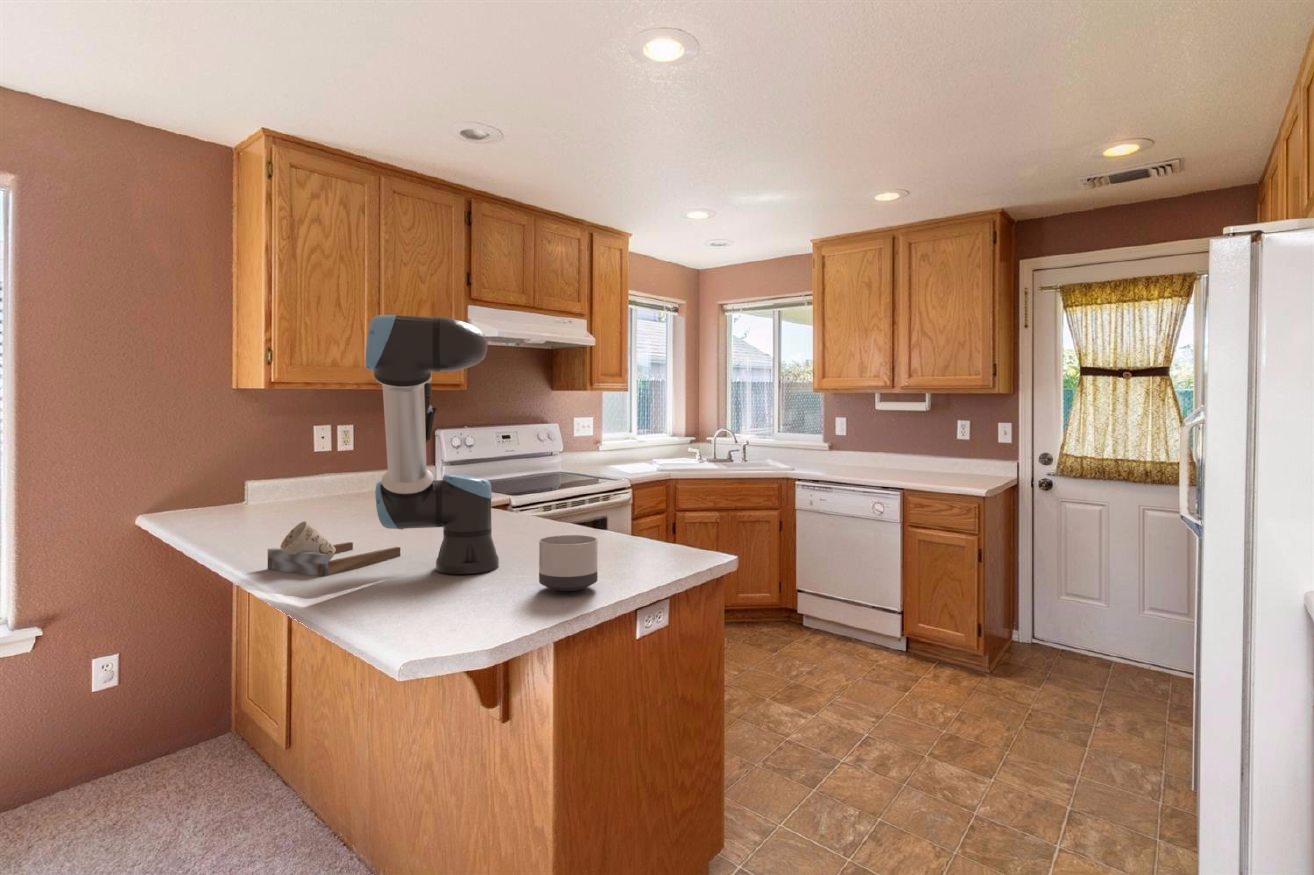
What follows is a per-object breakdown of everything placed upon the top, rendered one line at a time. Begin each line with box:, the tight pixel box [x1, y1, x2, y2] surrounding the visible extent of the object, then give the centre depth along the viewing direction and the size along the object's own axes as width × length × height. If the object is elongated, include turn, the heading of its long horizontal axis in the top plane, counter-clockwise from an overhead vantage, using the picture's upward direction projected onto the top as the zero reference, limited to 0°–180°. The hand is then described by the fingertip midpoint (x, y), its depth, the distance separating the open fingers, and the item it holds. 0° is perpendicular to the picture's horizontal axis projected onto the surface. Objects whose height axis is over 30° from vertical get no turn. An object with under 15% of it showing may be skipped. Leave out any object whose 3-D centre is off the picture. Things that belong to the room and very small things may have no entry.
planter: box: [538, 534, 599, 592], centre depth 146 cm, size 13×13×10 cm
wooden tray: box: [267, 541, 401, 577], centre depth 170 cm, size 19×24×5 cm
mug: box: [279, 520, 336, 561], centre depth 164 cm, size 8×13×10 cm
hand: (417, 465), depth 187 cm, fingers closed
